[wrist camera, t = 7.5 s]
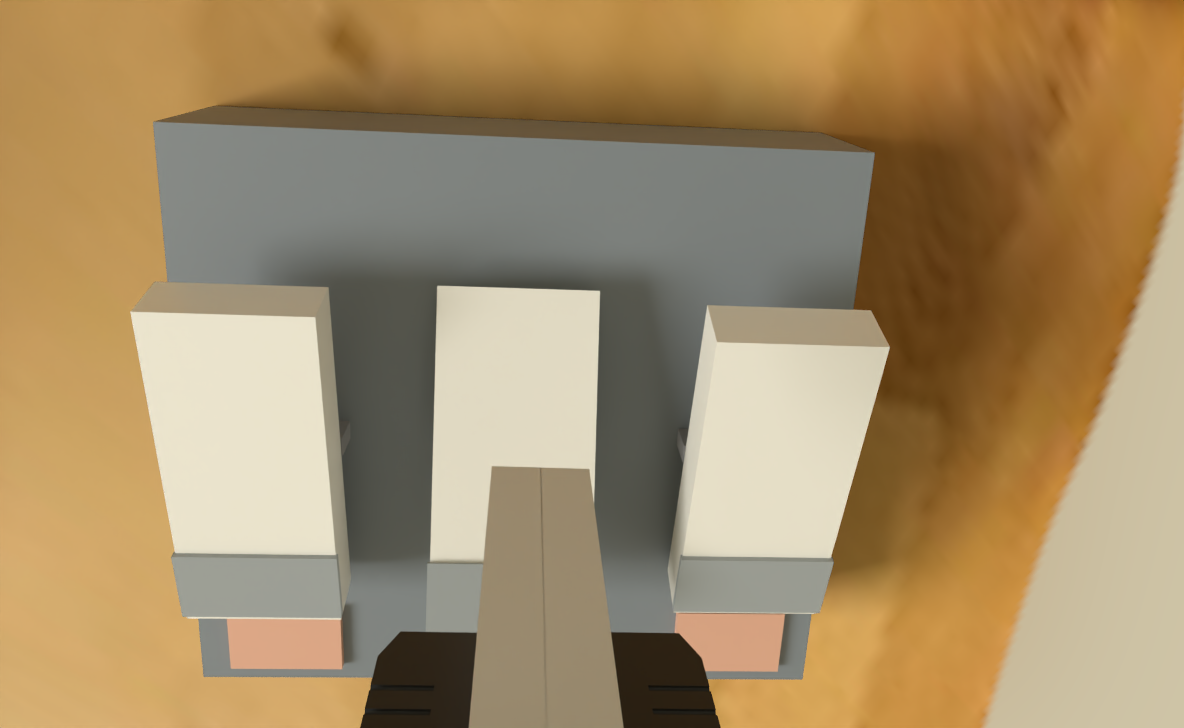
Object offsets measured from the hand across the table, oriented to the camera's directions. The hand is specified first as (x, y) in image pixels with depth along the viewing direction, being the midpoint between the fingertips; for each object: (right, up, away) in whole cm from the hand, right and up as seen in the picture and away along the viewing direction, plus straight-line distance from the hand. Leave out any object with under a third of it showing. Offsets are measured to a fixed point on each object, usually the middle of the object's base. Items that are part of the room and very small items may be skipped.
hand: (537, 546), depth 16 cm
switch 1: (-8, 0, +9) cm, 12 cm away
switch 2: (-1, 0, +10) cm, 10 cm away
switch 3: (+5, 0, +10) cm, 12 cm away
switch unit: (-2, +3, +17) cm, 17 cm away
